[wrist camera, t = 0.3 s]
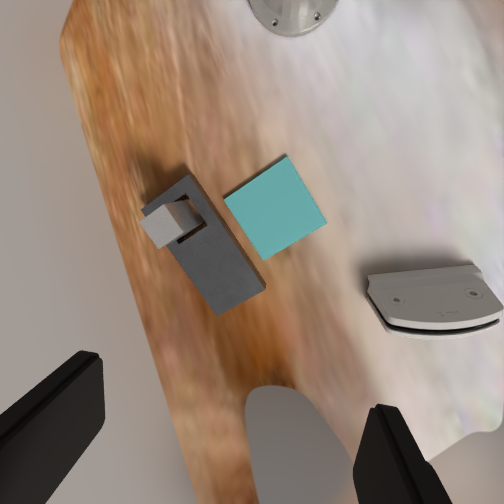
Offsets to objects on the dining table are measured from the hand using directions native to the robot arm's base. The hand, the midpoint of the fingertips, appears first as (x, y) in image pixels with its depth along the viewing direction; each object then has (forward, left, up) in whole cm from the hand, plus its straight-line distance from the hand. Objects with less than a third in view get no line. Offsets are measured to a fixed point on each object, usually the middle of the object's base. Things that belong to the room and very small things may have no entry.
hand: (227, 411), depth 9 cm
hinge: (+22, +15, -36) cm, 45 cm away
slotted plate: (-3, -11, -36) cm, 37 cm away
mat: (-2, +2, -36) cm, 36 cm away
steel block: (-9, -11, -36) cm, 38 cm away
